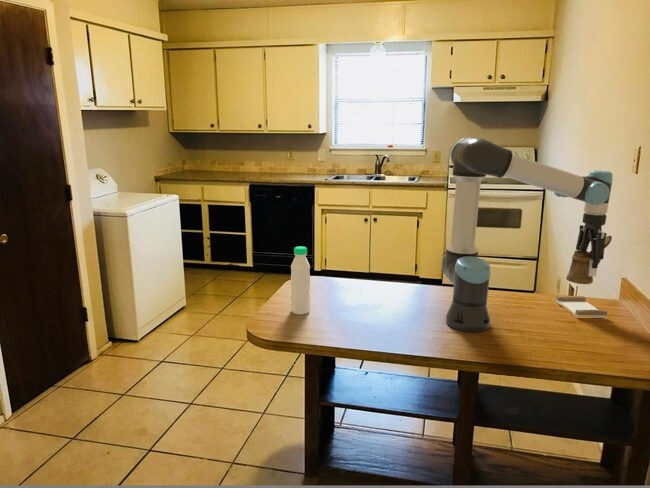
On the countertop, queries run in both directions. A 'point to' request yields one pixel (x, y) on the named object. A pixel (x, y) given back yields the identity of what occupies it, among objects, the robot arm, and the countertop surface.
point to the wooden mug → (582, 265)
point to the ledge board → (580, 307)
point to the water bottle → (300, 282)
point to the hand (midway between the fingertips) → (586, 272)
